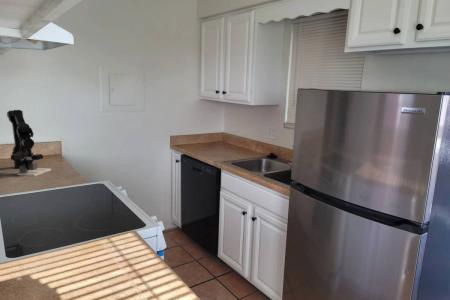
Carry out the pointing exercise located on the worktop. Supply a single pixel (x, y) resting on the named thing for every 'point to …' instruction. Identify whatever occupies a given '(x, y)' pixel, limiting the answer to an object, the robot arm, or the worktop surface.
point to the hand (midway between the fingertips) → (28, 169)
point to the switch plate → (34, 172)
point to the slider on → (33, 166)
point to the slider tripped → (23, 168)
